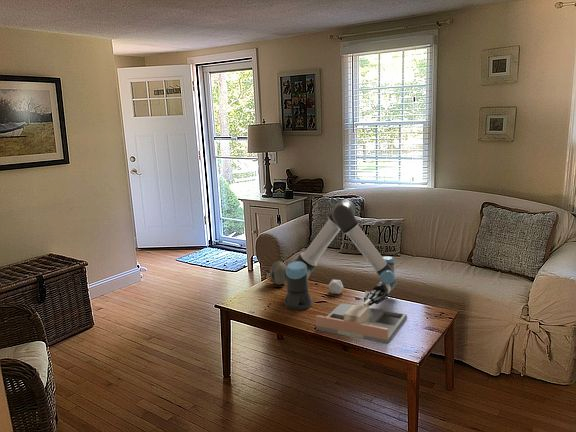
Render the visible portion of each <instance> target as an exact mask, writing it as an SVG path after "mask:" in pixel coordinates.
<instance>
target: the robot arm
mask: <svg viewBox="0 0 576 432" xmlns="http://www.w3.org/2000/svg"><path fill="white" fill-rule="evenodd" d="M355 215H356V207H355V204H354V203H353V201H351V200H348V199H341V200H340V201H337V202H336V204H335V205H334V207H333V209H331V211H330V212H329V214H328V215H327V221H326V223H324V225H323V226H322V228H321V230H320V231H319V232H318V233H317V235H316V236H315V237H314V239H313V240H312V242H311V243H310V244H309V246H307V248H306V250H305V251H302V252H300V253H299V254H298V255H297V257H296V258H295V259H294V261H292V262H289V263H288V264H287V265H286V266H287V267H286V279H287V281H286V295H285V300H284V306H285V308H287V309H289V310H291V311H292V310H293V311H301V310H307V309H309V308H311V307H312V305H313V299H312V297H311V294H310V292H309V285H308V284H309V283H308V282H309V277H310V275H311V273H312V272H314V270H315V268H316V267H317V265H318V260H319V259H320V258H321V256H322V255H323V254H324V252H325V251H326V249H327V248H328V246H329V245H330V244H331V243H332V242H333V240H334V239H335V237H336V236H337V235H338V234H339V233H340V231H341V232H342V234H344V235H347V236H348V238H349V239H350V240H351V242H352V243H353V244H354V245H355V246H356V248H357V250H359V252H360V254H362V256H363V257H364V259H366V261H367V262H368V263H369V265H370V266H371V268H373V270H374V271H375V273H376V274H377V275H378V278H379V280H380V281H379V282H378V283H377V284H376V285H375V286H374V287H373V288H372V290H370V291H367V290H364V295H363V296H364V297H363V305H362V306H364V307H369V308H370V306H372V305H374V304H375V305H378V304H381V303H382V302H384V301H386V300H389V294H390V292H391V291H392V290H393V289H395V287H396V286H397V283H398V282H397V278H396V277H395V276H396V275H395V258H394V257H392V256H389V255H388V256H387V255H385V256H382V255H381V253H380V252H379V250H378V249H377V248H376V247H375V245H374V244H373V243H372V241H371V240H370V239H369V238H368V236H367V235H366V234H365V232H364V230H362V228H361V227H360V225H359V221H358V220H357V218H356V216H355Z"/></svg>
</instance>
